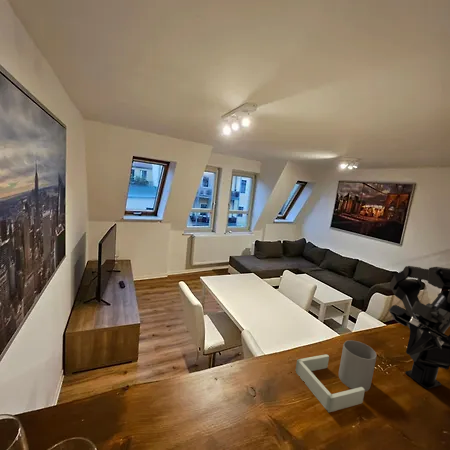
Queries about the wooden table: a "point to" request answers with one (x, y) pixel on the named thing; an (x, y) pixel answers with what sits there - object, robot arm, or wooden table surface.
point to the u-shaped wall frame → (318, 389)
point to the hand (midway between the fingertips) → (407, 353)
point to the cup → (357, 365)
